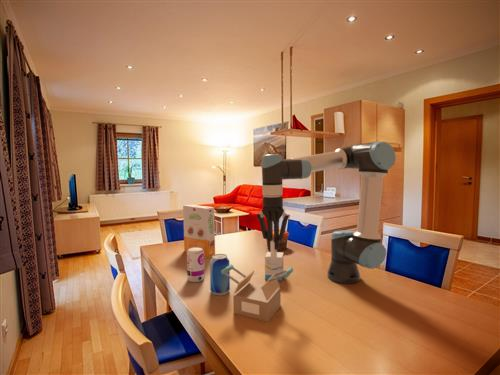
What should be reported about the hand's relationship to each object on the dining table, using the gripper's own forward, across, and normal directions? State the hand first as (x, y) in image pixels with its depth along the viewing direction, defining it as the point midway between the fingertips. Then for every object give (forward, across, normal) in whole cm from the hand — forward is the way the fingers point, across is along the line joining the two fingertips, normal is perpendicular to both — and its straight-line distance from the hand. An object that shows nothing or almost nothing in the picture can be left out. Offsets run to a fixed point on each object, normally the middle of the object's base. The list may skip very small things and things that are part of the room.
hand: (273, 257), depth 108 cm
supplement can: (+20, +44, -10) cm, 50 cm away
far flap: (+10, +11, +4) cm, 15 cm away
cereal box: (+20, +68, -45) cm, 84 cm away
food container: (+21, +26, -76) cm, 83 cm away
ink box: (+21, +10, -28) cm, 36 cm away
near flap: (+10, 0, +4) cm, 10 cm away
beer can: (+20, +26, -3) cm, 33 cm away
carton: (+20, +6, +4) cm, 21 cm away
